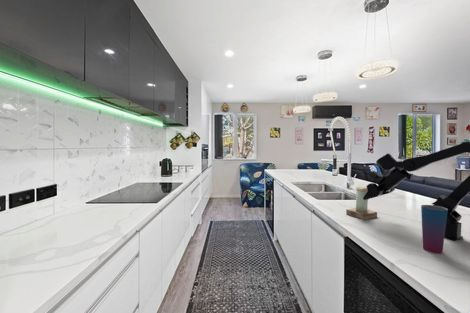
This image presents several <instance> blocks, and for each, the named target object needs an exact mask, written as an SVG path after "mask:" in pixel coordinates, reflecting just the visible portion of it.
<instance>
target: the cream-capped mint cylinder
mask: <svg viewBox="0 0 470 313" xmlns="http://www.w3.org/2000/svg"><path fill="white" fill-rule="evenodd" d="M367 191H368V189H367V187H366V186H364V187H363V186H357V187H356V198H355V199H356V200H355V201H356V202H355V208H356V211H359V212H367V210H369V209H368V203H369V199H367V200H364V199H363V197H364V196H365V194H366V193H367Z"/></svg>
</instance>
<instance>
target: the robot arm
mask: <svg viewBox="0 0 470 313" xmlns="http://www.w3.org/2000/svg"><path fill="white" fill-rule="evenodd" d="M468 153H469V154H470V141H463V142H461V143H460V144H456V145H452V146H451V147H446V148H443V149H441V150H438V151H434V152H432V153H429V154H425V155H420V156H415V157H409V158H405V159H403V161H402V160H398V161H397V159H395V158H394V157H393V156H392V155H391V153H386V154H385V155H382V156H381V157H379V158H377V160H376V161H375V163H376V164H377V165H378V166H379V167H380V168H382V170H384V172H387V171H388V172H389V173H388V174H386V175H383V174H382V173H380V172H378V171H376V170H371V171H370V172H368V176H367V178H369V179H371V180H373V181H374V182H375V183H374V182H371V183H368V184H367V185H366V186H365V188H367V189H368V191H367V193H366V194H365V196H364V197H363V199H364V200H367V199H368V200H369V199H375V198H377V197H381V196H385V195H388V194H391V193H393V192H394V191H396V186H398V185H399V184H400V183H401V182H403V181H404V180H405V179H407V180H409V181H411V180H414V174H413V173H410V172H416V171H419V170H421V169H423V168H426V167H428V166H429V165H432V164H433V163H437V162H439V161H442V160H443V161H444V160H446V159H449V158H453V157H456V156H460V155H463V154H468ZM468 194H470V174H469V175H468V176H467V177H466V178H465V179H464V180H463V181H462V182H461V183H460V184H459V185H457V186H456V188H455V189H453V190H452V191H451V193H449V194H448V195H447V196H446V195H444V194H442V195H440V196H438V197H437V199H436V200H435V201H433V202H432V203H431V205H434V206H440V207H444V208H447V209H448V212H447V220H446V228H445V236H444V239H449V240H452V241H458V240H462V239H464V236H462V222H459V221H460V220H461V219H462V215H461V214H460V213H459V212H458V211H457V210H456V209H457V208H458V206H459V205H460V204H461V201H462V200H463V199H464V198H465V197H466V196H468Z"/></svg>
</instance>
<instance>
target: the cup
mask: <svg viewBox="0 0 470 313" xmlns="http://www.w3.org/2000/svg"><path fill="white" fill-rule="evenodd" d="M420 208H421V209H420V210H421V211H420V212H421V233H422V249H423V250H424V251H427V252H429V253H432V254H443V250H444V243H445V237H444V236H445V228H446V220H447V212H448V209H447V208H444V207H440V206H434V205H433V204H422V205H420Z"/></svg>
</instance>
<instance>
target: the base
mask: <svg viewBox="0 0 470 313" xmlns="http://www.w3.org/2000/svg"><path fill="white" fill-rule="evenodd" d="M345 211H346V212H345V213H346V215H347V216H352V217H355V218H358V219H361V220H368V219H375V218H378V212H377V211H373V210H371V209H367V212H359V211H356V207H354V208H347V209H346V210H345Z"/></svg>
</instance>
